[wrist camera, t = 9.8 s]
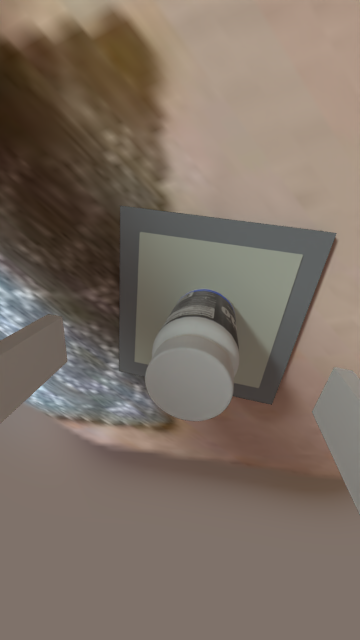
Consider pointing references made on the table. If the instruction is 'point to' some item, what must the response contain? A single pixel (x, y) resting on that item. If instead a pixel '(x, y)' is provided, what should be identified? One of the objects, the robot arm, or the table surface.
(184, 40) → the table surface
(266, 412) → the table surface
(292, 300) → the coaster
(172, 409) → the pill bottle
